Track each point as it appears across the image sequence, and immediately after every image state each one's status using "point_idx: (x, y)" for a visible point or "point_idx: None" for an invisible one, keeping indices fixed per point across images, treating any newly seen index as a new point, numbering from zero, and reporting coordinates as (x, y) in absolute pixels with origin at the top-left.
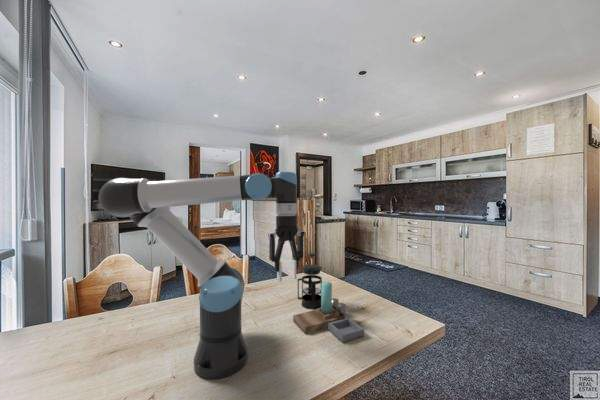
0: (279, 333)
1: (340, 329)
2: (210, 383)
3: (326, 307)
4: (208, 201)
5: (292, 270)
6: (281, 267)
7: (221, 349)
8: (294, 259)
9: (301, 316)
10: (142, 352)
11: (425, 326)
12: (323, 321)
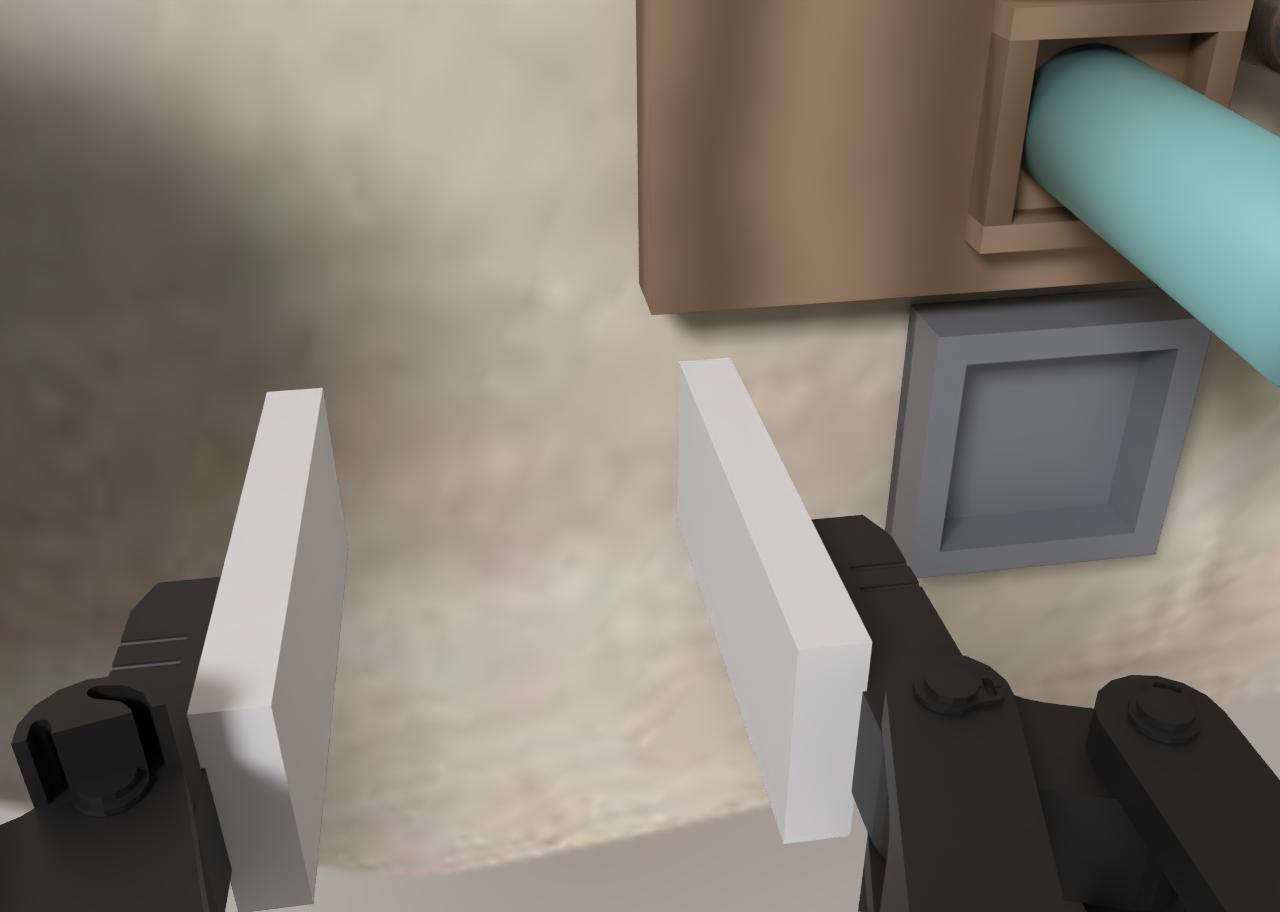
0: (357, 152)
1: (1013, 378)
2: None
3: (1088, 226)
4: None
5: (714, 517)
6: (319, 788)
7: None
8: (866, 742)
9: (744, 35)
10: None
11: None
12: (921, 277)
